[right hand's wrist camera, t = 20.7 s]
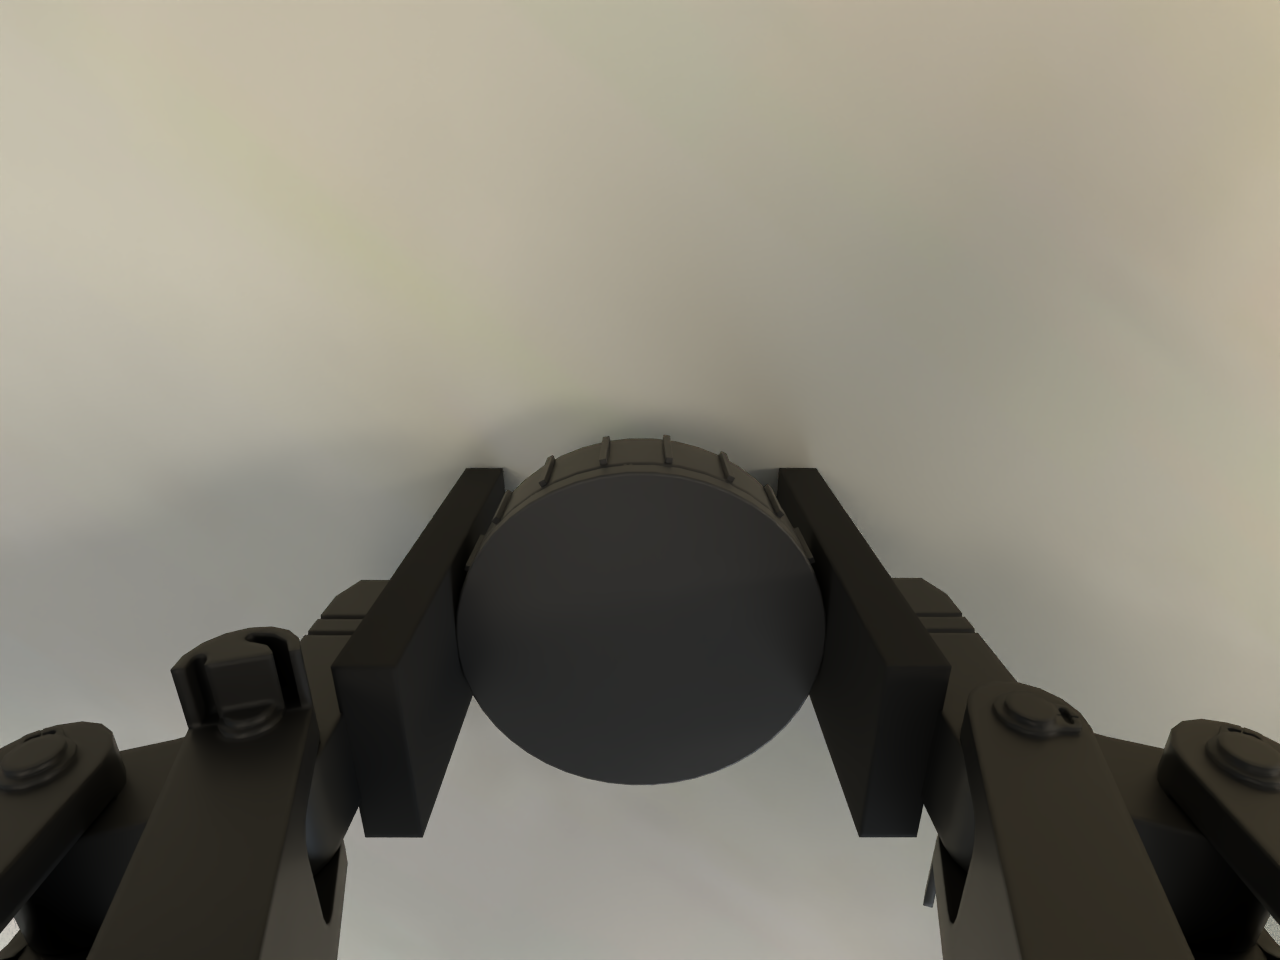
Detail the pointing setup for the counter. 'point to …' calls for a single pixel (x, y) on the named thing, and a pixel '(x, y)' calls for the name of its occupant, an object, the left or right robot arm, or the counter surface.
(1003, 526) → the counter surface
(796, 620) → the lid
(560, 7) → the counter surface
